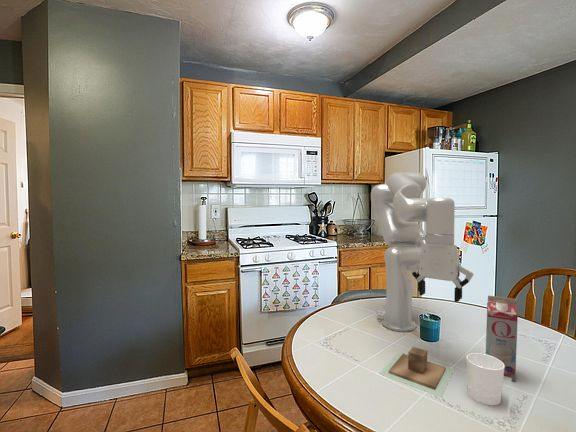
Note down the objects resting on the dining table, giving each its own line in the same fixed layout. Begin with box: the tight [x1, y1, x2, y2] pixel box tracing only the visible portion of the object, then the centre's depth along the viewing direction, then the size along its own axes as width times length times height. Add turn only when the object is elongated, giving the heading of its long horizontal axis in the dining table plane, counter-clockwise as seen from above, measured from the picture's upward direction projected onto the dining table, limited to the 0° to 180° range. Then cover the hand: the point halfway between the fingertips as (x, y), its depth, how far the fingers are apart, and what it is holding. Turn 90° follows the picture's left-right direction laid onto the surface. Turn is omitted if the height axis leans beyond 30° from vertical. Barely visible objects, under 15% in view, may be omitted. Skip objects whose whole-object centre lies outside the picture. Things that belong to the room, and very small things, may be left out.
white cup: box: [465, 352, 505, 406], centre depth 74 cm, size 8×8×10 cm
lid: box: [389, 346, 446, 390], centre depth 85 cm, size 12×12×6 cm
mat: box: [378, 351, 455, 398], centre depth 86 cm, size 16×16×1 cm
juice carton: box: [485, 295, 519, 383], centre depth 86 cm, size 7×7×22 cm
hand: (439, 297), depth 89 cm, fingers open, 9 cm apart
